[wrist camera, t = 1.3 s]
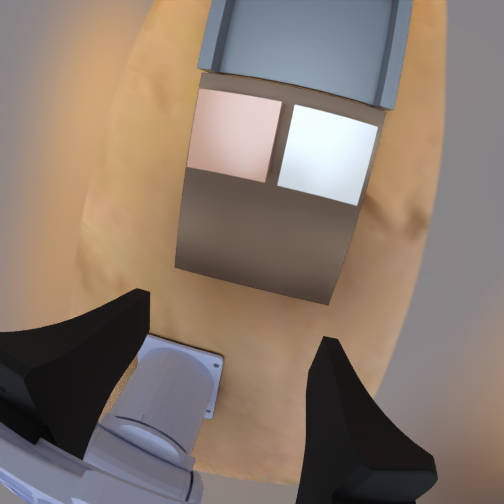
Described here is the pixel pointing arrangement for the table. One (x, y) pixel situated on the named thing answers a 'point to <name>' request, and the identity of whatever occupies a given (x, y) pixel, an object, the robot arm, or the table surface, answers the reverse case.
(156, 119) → the table surface
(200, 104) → the tile terracotta
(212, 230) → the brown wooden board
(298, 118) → the tile cream
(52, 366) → the robot arm
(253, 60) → the tray
